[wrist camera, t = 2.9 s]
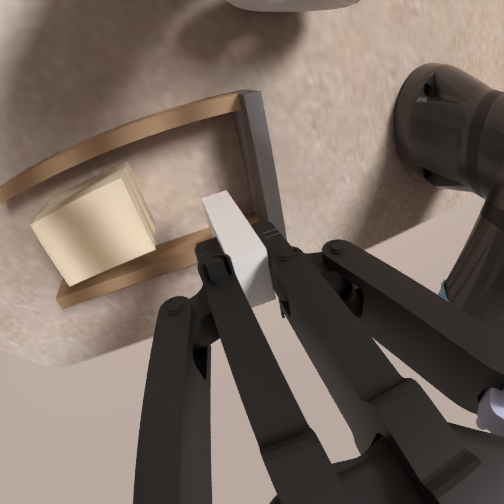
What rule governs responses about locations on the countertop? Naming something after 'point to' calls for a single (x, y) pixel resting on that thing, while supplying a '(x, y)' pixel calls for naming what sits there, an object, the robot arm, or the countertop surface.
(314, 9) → the donut
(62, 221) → the block
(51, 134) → the countertop surface
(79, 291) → the channel
